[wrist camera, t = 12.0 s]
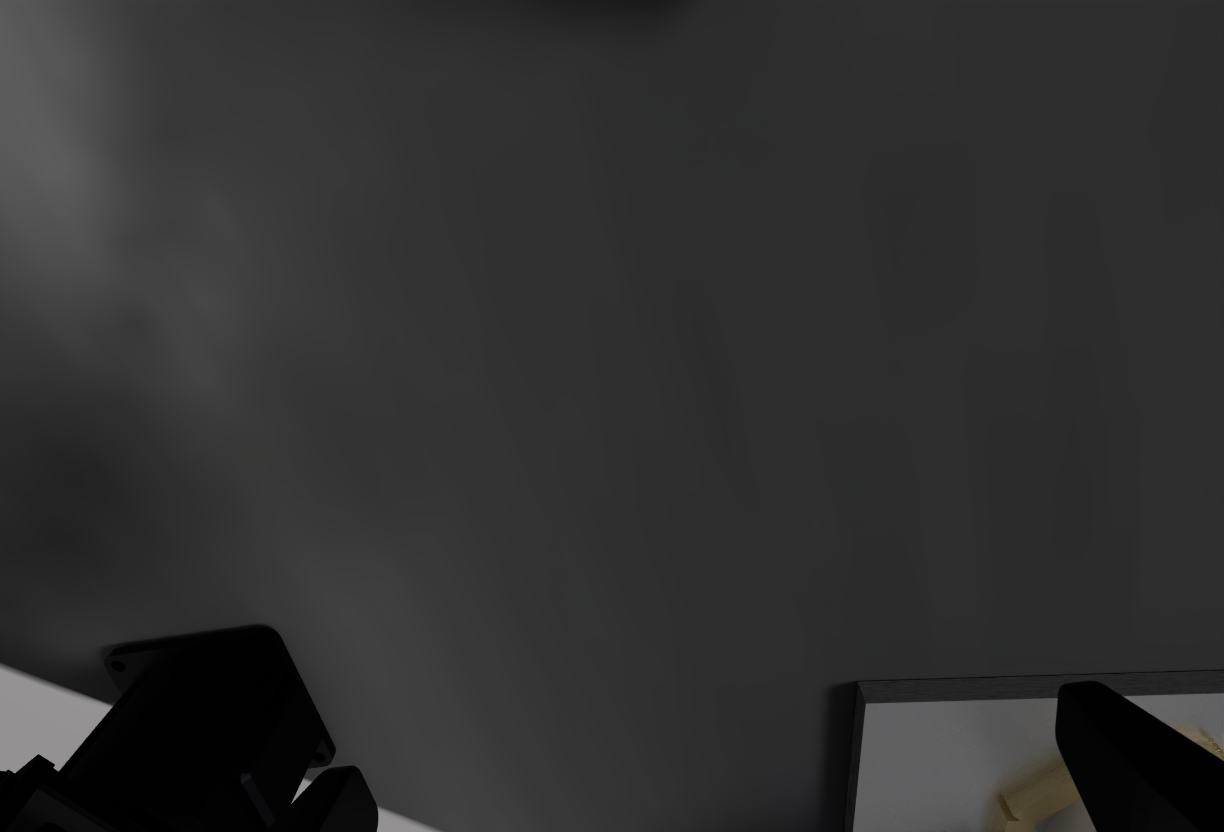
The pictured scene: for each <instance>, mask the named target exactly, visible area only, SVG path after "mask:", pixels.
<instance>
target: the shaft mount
mask: <svg viewBox="0 0 1224 832" xmlns="http://www.w3.org/2000/svg"><path fill="white" fill-rule="evenodd" d="M1082 681H1098V682H1100V683H1103V684H1104V685H1106V686H1108V687H1109V688H1111V689H1112V690H1114V691H1116V692H1117V693H1119V694H1120V695H1122V696H1123V697H1125V698H1127V699H1128V700H1130V701H1131V702H1133V703H1134V704H1136V705H1137V706H1139V707H1141V708H1142V709H1144V710H1145V711H1147V712H1148V713H1150V714H1152V715H1153V716H1155V717H1156V718H1158V719H1159V720H1161V721H1162V722H1164V723H1166V724H1167V725H1169V726H1170V727H1172V728H1173V729H1175V730H1176V731H1178V732H1180V733H1181V734H1183V735H1184V736H1186V737H1187V738H1189V739H1191V740H1192V741H1194V742H1195V743H1197V744H1198V745H1200V746H1201V747H1203V748H1205V749H1206V750H1208V751H1209V752H1211V753H1212V754H1214V755H1216V756H1217V757H1219V758H1220V759H1222V760H1223V761H1224V671H1191V672H1158V673H1126V674H1093V675H1061V676H1028V677H995V678H963V679H930V680H897V681H865V682H858V685H857V696H856V706H855V717H854V728H853V739H852V749H851V760H850V771H849V782H848V792H847V803H846V814H845V824H844V832H1045V831H1046V829H1047V827H1048V825H1049V823H1050V822H1051V821H1052V819H1053V818H1054V817H1055V816H1056V815H1057V814H1058V813H1059V812H1060V811H1061V810H1062V809H1064V808H1065V807H1067V806H1069V805H1071V804H1072V803H1074V802H1076V801H1078V800H1079V799H1081V797H1080V795H1079V793H1078V791H1077V788H1076V786H1075V784H1074V782H1073V780H1072V778H1071V775H1070V773H1069V771H1068V769H1067V767H1066V765H1065V762H1064V760H1063V758H1062V756H1061V754H1060V751H1059V749H1058V746H1057V742H1056V737H1055V723H1056V711H1057V699H1058V691H1059V688H1060V687H1061V686H1062V685H1063V684H1066V683H1073V682H1082Z"/></svg>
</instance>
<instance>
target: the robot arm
mask: <svg viewBox="0 0 1224 832" xmlns="http://www.w3.org/2000/svg"><path fill="white" fill-rule="evenodd" d="M262 641H264V642H266V643H267V644H266V643H264V642H262ZM104 665H105V668H106V669H107V671H108V673H109V674H110V676H111V677H112V679H113V680H114V682H115V684H116V685H117V687H118V688H119V690H120V691H121V693H122V694H123V695H122V696H121V698H120V699H119V700H118V701H117V702H116V704H115V705H114V706H113V707H112V708H111V710H110V711H109V712H108V713H107V714H106V716H105V717H104V718H103V719H102V720H101V722H100V723H99V724H98V725H97V726H96V728H95V729H94V730H93V731H92V732H91V734H90V735H89V736H88V737H87V738H86V740H85V741H84V742H83V743H82V744H81V746H80V747H79V748H78V749H77V750H76V752H75V753H74V754H73V755H72V756H71V758H70V759H69V760H68V761H67V762H66V764H65V765H64V766H63V767H62V768H61V770H60V771H59V772H58V771H57V770H55V769H54V768H53V767H54V766H55V764H53V763H52V762H50V761H49V760H47V759H45V758H43V757H42V756H41V755H39V754H38V755H37V756H36V757H34V758H33V759H32V760H31V761H29V762H28V763H27V764H26V765H25V766H23V767H22V768H21V769H20V770H19V771H17V772H16V773H13V772H12V771H10V770H7V771H0V832H377V827H378V809H377V805H376V802H375V800H374V798H373V796H372V794H371V792H370V790H369V788H368V786H367V783H366V781H365V779H364V777H363V775H362V773H361V771H360V770H359V769H358V768H357V767H355V766H342V767H333V768H329V769H326V770H325V771H323V772H322V773H321V774H320V775H319V776H318V777H317V778H316V779H315V780H314V781H313V782H312V783H311V784H310V785H309V786H308V787H307V788H306V789H305V790H304V791H303V792H302V794H300V795H299V797H298V798H297V799H296V800H295V801H294V802H293V803H292V801H293V799H294V797H295V794H296V792H297V790H298V788H299V786H300V784H301V782H302V780H303V778H304V776H305V773H306V771H307V769H308V768H317V767H324V766H328V765H329V764H330V763H331V762H332V760H333V757H334V755H335V753H336V748H335V746H334V743H333V741H332V739H331V737H330V735H329V733H328V731H327V729H326V727H325V725H324V723H323V721H322V719H321V717H320V715H319V713H318V711H317V709H316V707H315V705H314V703H313V701H312V699H311V697H310V695H309V693H308V691H307V689H306V687H305V685H304V683H303V681H302V679H301V677H300V675H299V673H298V671H297V669H296V667H295V665H294V662H293V660H292V658H291V656H290V654H289V652H288V650H287V648H286V646H285V644H284V642H283V640H282V638H281V636H280V635H279V634H278V632H276V631H275V630H273V629H270V628H263V627H262V628H255V629H248V630H241V631H233V632H226V633H219V634H212V635H205V636H198V637H191V638H184V639H177V640H169V641H162V642H155V643H148V644H141V645H134V646H127V647H120V648H116V649H114V650H113V651H112V653H111V654H110V655H109V656H108V657H107V658H106V659H105V661H104ZM1055 737H1056V742H1057V746H1058V749H1059V751H1060V754H1061V756H1062V758H1063V760H1064V762H1065V765H1066V767H1067V769H1068V771H1069V773H1070V775H1071V778H1072V780H1073V782H1074V784H1075V786H1076V788H1077V791H1078V793H1079V795H1080V797H1081V799H1082V801H1083V804H1084V806H1085V808H1086V810H1087V812H1088V814H1089V817H1090V819H1091V821H1092V823H1093V825H1094V827H1095V830H1096V832H1224V761H1223V760H1222V759H1220V758H1219V757H1217V756H1216V755H1214V754H1212V753H1211V752H1209V751H1208V750H1206V749H1205V748H1203V747H1201V746H1200V745H1198V744H1197V743H1195V742H1194V741H1192V740H1191V739H1189V738H1187V737H1186V736H1184V735H1183V734H1181V733H1180V732H1178V731H1176V730H1175V729H1173V728H1172V727H1170V726H1169V725H1167V724H1166V723H1164V722H1162V721H1161V720H1159V719H1158V718H1156V717H1155V716H1153V715H1152V714H1150V713H1148V712H1147V711H1145V710H1144V709H1142V708H1141V707H1139V706H1137V705H1136V704H1134V703H1133V702H1131V701H1130V700H1128V699H1127V698H1125V697H1123V696H1122V695H1120V694H1119V693H1117V692H1116V691H1114V690H1112V689H1111V688H1109V687H1108V686H1106V685H1104V684H1103V683H1100V682H1098V681H1082V682H1073V683H1066V684H1063V685H1062V686H1061V687H1060V688H1059V691H1058V699H1057V711H1056V723H1055ZM291 803H292V804H291Z"/></svg>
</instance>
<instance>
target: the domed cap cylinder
mask: <svg viewBox="0 0 1224 832" xmlns="http://www.w3.org/2000/svg"><path fill="white" fill-rule="evenodd" d="M1045 832H1096V830H1095V827H1094V825H1093V823H1092V821H1091V819H1090V817H1089V814H1088V812H1087V810H1086V808H1085V806H1084V804H1083V801H1082V799H1079V800H1078V801H1076V802H1074V803H1072V804H1071V805H1069V806H1067V807H1065V808H1064V809H1062V810H1061V811H1060V812H1059V813H1058V814H1057V815H1056V816H1055V817H1054V818H1053V819H1052V821H1051V822H1050V823H1049V825H1048V827H1047V829H1046V831H1045Z"/></svg>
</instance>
